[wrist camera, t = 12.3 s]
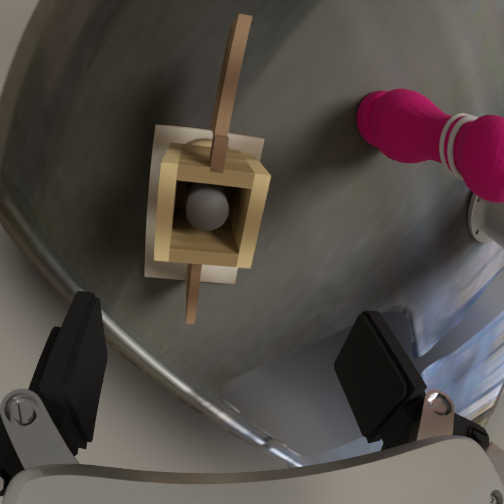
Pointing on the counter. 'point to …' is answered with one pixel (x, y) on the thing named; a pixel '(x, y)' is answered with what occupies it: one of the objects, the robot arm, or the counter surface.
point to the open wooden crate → (214, 181)
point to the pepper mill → (436, 138)
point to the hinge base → (153, 198)
